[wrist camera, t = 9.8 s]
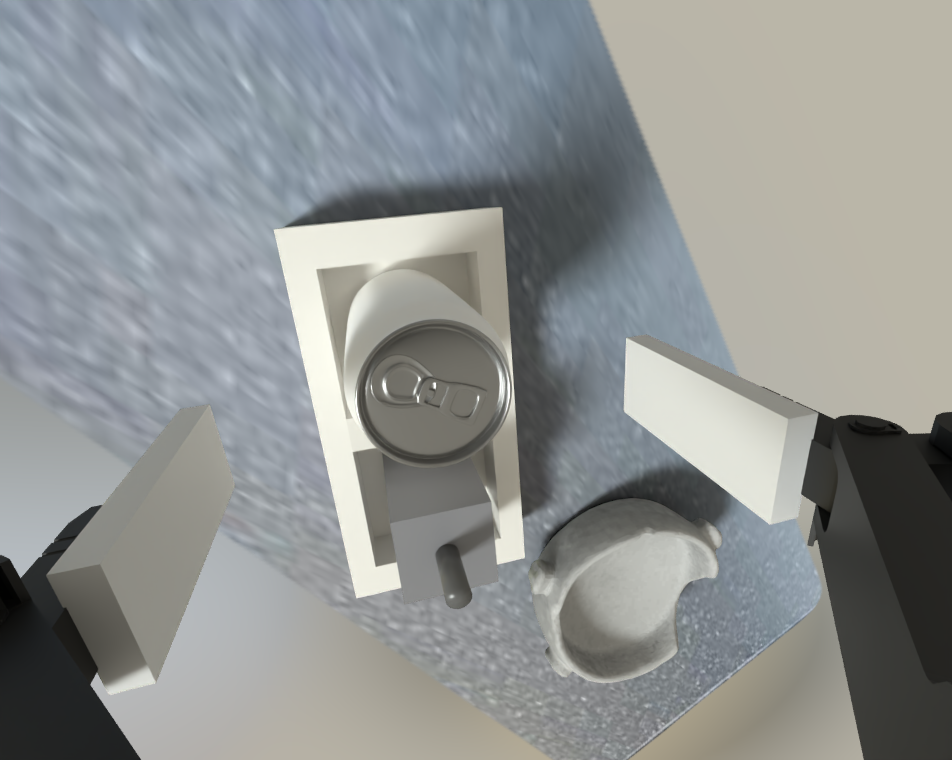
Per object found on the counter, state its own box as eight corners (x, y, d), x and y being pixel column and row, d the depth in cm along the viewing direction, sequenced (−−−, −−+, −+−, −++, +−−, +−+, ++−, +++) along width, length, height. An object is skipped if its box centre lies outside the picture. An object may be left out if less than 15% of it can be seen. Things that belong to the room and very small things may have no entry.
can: (369, 249, 26) (380, 277, 15) (475, 292, 28) (552, 344, 17) (331, 357, 28) (315, 453, 17) (435, 390, 30) (482, 495, 19)
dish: (692, 479, 38) (738, 515, 34) (670, 615, 43) (708, 664, 38) (517, 504, 35) (542, 549, 30) (514, 649, 40) (535, 706, 35)
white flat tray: (284, 226, 26) (274, 229, 22) (485, 207, 28) (502, 207, 24) (356, 560, 33) (356, 598, 30) (509, 526, 35) (524, 557, 32)
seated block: (381, 447, 30) (394, 566, 20) (459, 433, 31) (509, 539, 21) (393, 514, 32) (410, 654, 22) (466, 498, 33) (515, 626, 23)
